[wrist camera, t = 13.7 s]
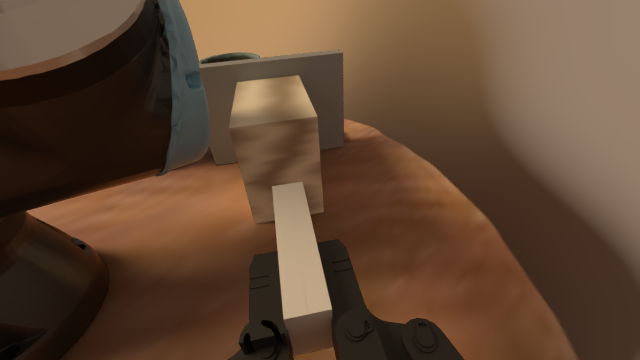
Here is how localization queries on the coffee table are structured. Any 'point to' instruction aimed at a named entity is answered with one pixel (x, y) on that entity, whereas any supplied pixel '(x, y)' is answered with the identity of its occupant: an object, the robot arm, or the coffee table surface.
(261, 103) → the ash block
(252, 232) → the coffee table surface
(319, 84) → the stop board
